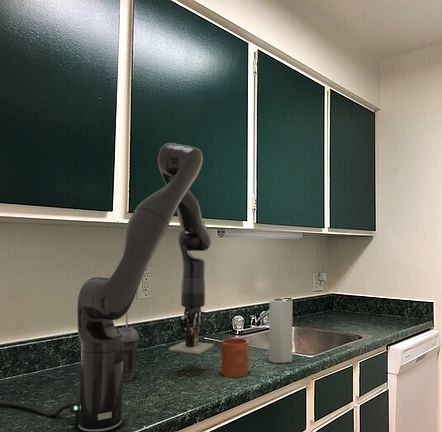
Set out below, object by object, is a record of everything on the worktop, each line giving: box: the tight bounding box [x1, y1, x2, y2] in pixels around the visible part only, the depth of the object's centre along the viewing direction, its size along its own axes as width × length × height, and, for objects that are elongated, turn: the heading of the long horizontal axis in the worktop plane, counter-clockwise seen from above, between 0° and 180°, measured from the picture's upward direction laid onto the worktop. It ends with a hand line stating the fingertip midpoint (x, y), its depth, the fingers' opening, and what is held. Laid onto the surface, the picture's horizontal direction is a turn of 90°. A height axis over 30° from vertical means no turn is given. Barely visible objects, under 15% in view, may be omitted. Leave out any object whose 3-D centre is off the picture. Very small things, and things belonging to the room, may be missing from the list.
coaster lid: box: [168, 329, 215, 355], centre depth 144 cm, size 10×10×6 cm
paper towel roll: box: [268, 298, 294, 364], centre depth 157 cm, size 7×6×21 cm
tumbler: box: [220, 337, 250, 378], centre depth 143 cm, size 9×9×10 cm
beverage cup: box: [118, 310, 140, 382], centre depth 136 cm, size 7×7×20 cm
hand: (191, 345), depth 144 cm, fingers closed on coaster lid, 3 cm apart
